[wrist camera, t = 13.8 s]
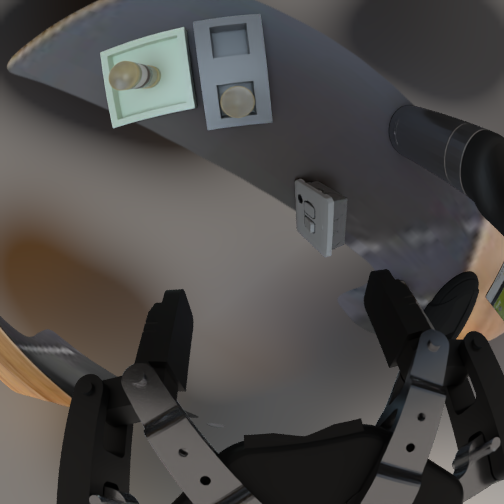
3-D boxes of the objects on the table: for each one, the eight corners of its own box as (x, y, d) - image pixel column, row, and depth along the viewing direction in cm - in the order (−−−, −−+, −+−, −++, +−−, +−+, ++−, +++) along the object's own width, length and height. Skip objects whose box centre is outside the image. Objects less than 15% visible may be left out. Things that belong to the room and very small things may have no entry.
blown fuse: (159, 63, 28) (135, 56, 20) (162, 85, 30) (139, 85, 22) (136, 69, 28) (106, 66, 20) (139, 91, 30) (111, 94, 22)
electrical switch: (293, 177, 40) (315, 201, 33) (324, 173, 41) (352, 196, 33) (295, 229, 46) (314, 261, 38) (324, 224, 46) (347, 254, 38)
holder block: (257, 22, 26) (260, 13, 22) (267, 118, 35) (272, 122, 31) (197, 29, 26) (192, 21, 22) (210, 125, 35) (207, 130, 31)
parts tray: (186, 30, 26) (183, 27, 24) (197, 106, 33) (194, 108, 31) (107, 53, 26) (100, 52, 24) (119, 125, 33) (112, 128, 31)
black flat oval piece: (488, 263, 56) (497, 273, 52) (447, 346, 79) (452, 355, 75) (431, 280, 56) (440, 293, 52) (395, 365, 79) (399, 376, 75)
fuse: (247, 85, 31) (253, 84, 23) (250, 108, 33) (256, 115, 25) (222, 88, 31) (218, 88, 23) (225, 111, 33) (222, 119, 25)
